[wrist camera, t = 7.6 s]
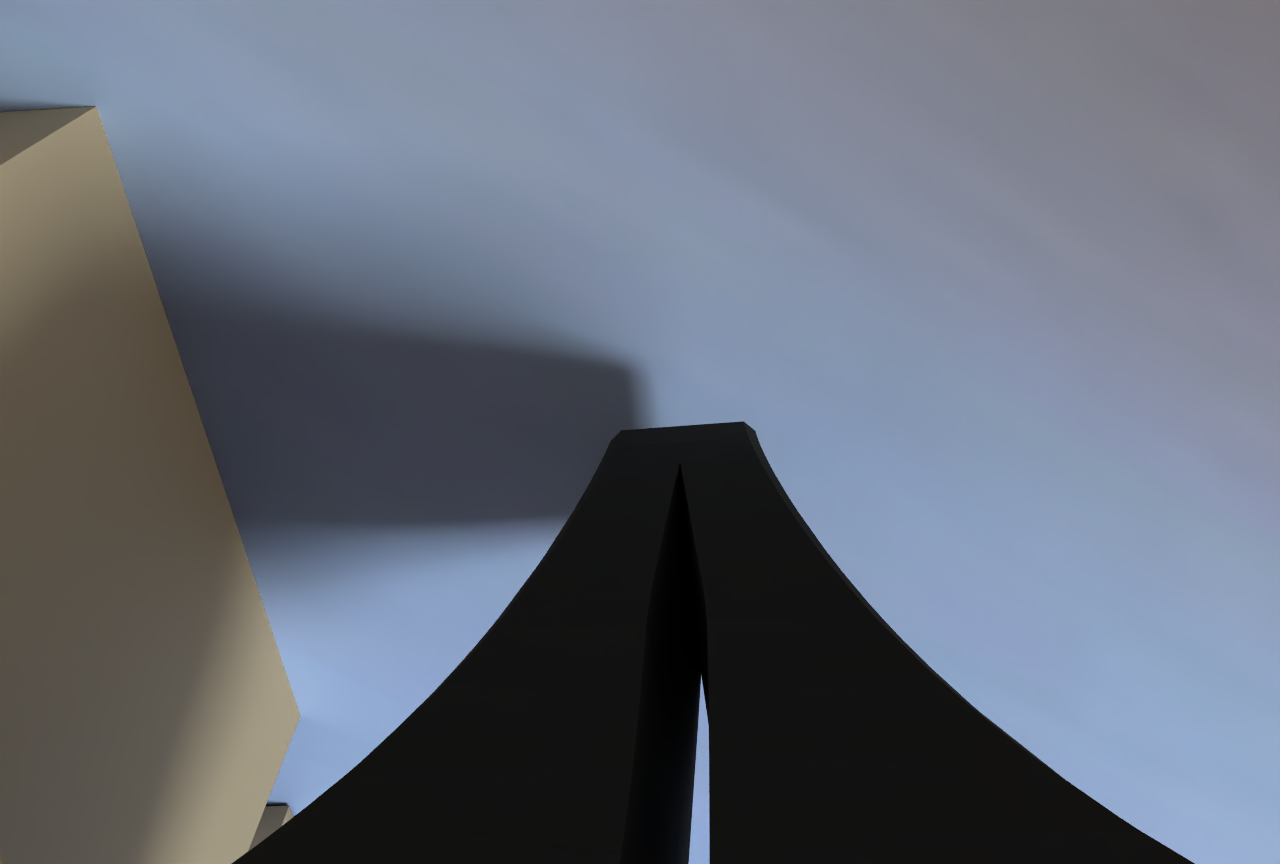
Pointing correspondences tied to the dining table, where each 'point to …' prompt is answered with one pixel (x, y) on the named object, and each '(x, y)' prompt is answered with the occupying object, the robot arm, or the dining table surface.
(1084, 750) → the dining table surface
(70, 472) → the carton
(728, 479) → the robot arm
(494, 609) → the dining table surface
